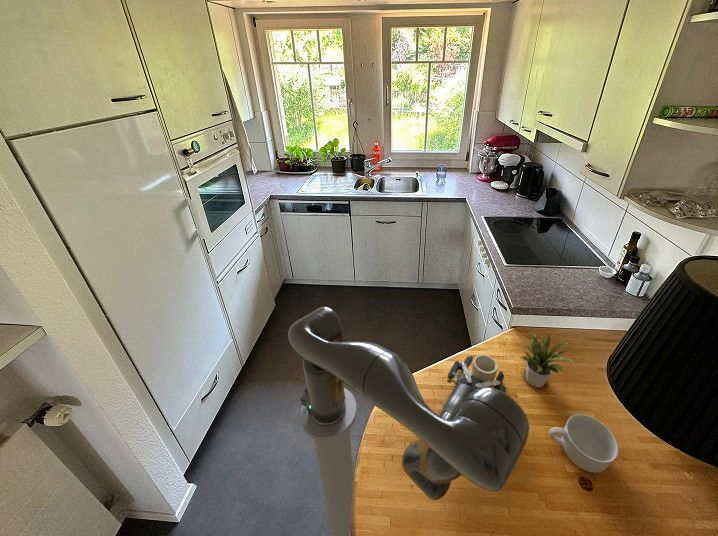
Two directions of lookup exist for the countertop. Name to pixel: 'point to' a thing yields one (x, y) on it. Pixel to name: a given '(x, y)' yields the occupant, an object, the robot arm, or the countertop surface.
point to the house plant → (542, 361)
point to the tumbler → (484, 368)
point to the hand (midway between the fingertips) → (486, 365)
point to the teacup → (587, 442)
